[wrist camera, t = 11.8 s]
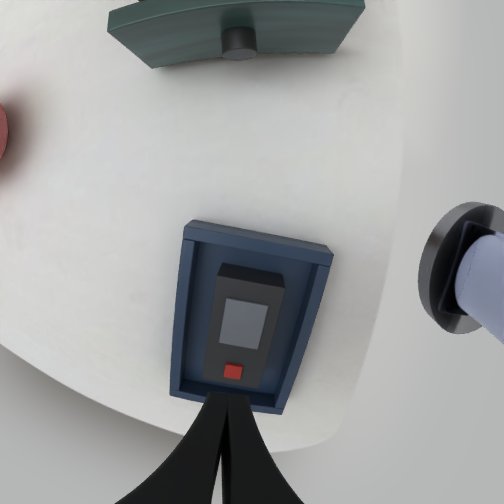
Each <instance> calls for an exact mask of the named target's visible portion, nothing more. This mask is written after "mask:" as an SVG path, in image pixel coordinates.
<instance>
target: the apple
mask: <svg viewBox="0 0 504 504" xmlns="http://www.w3.org/2000/svg"><path fill="white" fill-rule="evenodd" d="M7 138H8V125H7V118H6V114H5V111H4V109H3V107H2V105H1V104H0V159H1V157H2V156H3V153H4V151H5V147H6V144H7Z"/></svg>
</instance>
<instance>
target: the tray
mask: <svg viewBox="0 0 504 504" xmlns="http://www.w3.org/2000/svg"><path fill="white" fill-rule="evenodd" d="M333 256H334V254H333V253H332V252H331V251H330V250H329V248H328V247H327V246H326V245H322V244H317V243H312V242H307V241H302V240H297V239H292V238H287V237H282V236H277V235H271V234H266V233H261V232H256V231H251V230H245V229H240V228H235V227H230V226H224V225H219V224H213V223H208V222H203V221H197V220H192V221H190V222H189V223H188V224H187V225H185V226H184V232H183V240H182V248H181V256H180V264H179V273H178V282H177V292H176V302H175V313H174V325H173V338H172V353H171V370H170V393H169V394H170V396H174V397H178V398H182V399H187V400H191V401H196V402H201V403H204V401H205V399H206V396H207V393H208V392H210V391H215V392H223V393H231V394H240V395H247V396H248V397H249V401H250V406H251V410H252V411H253V412H261V413H269V414H278V415H282V413H283V410H284V408H285V405H286V402H287V400H288V397H289V394H290V392H291V389H292V386H293V384H294V381H295V378H296V375H297V372H298V370H299V367H300V364H301V361H302V358H303V355H304V352H305V349H306V346H307V343H308V340H309V337H310V334H311V331H312V328H313V325H314V321H315V318H316V315H317V312H318V308H319V305H320V302H321V298H322V295H323V292H324V288H325V285H326V281H327V278H328V274H329V270H330V266H331V264H332V260H333ZM222 263H226V264H231V265H237V266H242V267H247V268H252V269H258V270H263V271H268V272H274V273H279V274H283V279H284V284H285V288H286V289H285V293H284V297H283V301H282V305H281V309H280V313H279V317H278V321H277V324H276V328H275V332H274V336H273V339H272V343H271V347H270V351H269V354H268V358H267V361H266V365H265V369H264V372H263V376H262V379H261V383H260V386H259V388H252V387H245V386H239V385H233V384H227V383H222V382H217V381H211V380H206V379H202V371H203V364H204V357H205V349H206V342H207V336H208V329H209V322H210V315H211V309H212V302H213V296H214V289H215V283H216V277H217V274H218V271H219V269H220V266H221V264H222Z"/></svg>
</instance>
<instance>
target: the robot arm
mask: <svg viewBox="0 0 504 504" xmlns="http://www.w3.org/2000/svg"><path fill="white" fill-rule="evenodd" d="M472 227H473V230H472ZM447 306H448V308H447V309H446V307H447ZM438 310H439V311H440V312H441V313H447V314H455V315H463V316H471V317H472V318H474V319H475V320H476V321H477V322H478V323H480V324H481V325H482V326H483V327H484V328H486V329H487V330H488V331H489V332H490V333H491V334H493V335H494V336H495V337H496V338H497V339H498V340H499V341H500V342H502V343H503V344H504V234H501V233H499V232H497V231H494V230H492V229H489V228H487V227H484V226H482V225H479V224H477V223H474V222H472V221H466V222H465V223H464V226H463V230H462V234H461V238H460V241H459V245H458V248H457V252H456V255H455V259H454V262H453V265H452V268H451V271H450V274H449V277H448V280H447V283H446V286H445V289H444V291H443V294H442V297H441V300H440V302H439V305H438ZM220 456H221V462H222V463H221V464H222V501H223V502H222V503H223V504H304V503H303V502H302V501H301V500H300V498H299V497H298V496H297V495H296V493H295V492H294V491H293V489H292V488H291V487H290V486H289V484H288V483H287V481H286V480H285V478H284V477H283V475H282V474H281V472H280V471H279V469H278V468H277V466H276V464H275V463H274V461H273V459H272V457H271V455H270V453H269V451H268V449H267V447H266V446H265V443H264V441H263V439H262V437H261V434H260V432H259V430H258V427H257V425H256V422H255V419H254V416H253V413H252V410H251V406H250V401H249V397H248V396H247V395H240V394H231V393H223V392H215V391H210V392H208V393H207V396H206V399H205V401H204V404H203V406H202V408H201V410H200V412H199V414H198V416H197V417H196V419H195V421H194V422H193V424H192V425H191V427H190V429H189V430H188V432H187V433H186V435H185V436H184V437H183V439H182V440H181V442H180V443H179V444H178V445H177V447H176V448H175V449H174V451H173V452H172V453H171V454H170V455H169V456H168V458H167V459H166V460H165V461H164V462H163V463H162V464H161V465H160V466H159V467H158V468H157V469H156V470H155V472H153V473H152V474H151V475H150V476H149V477H148V478H147V479H146V480H145V481H144V482H142V483H141V484H140V485H139V486H138V487H137V488H136V489H134V490H133V491H132V492H130V493H129V494H127V495H126V496H125V497H123V498H122V499H121V500H119V501H118V502H116V503H115V504H211V501H212V495H213V490H214V485H215V480H216V476H217V471H218V466H219V461H220Z"/></svg>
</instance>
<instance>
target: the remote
mask: <svg viewBox="0 0 504 504" xmlns="http://www.w3.org/2000/svg"><path fill="white" fill-rule="evenodd" d="M285 289H286V288H285V284H284V279H283V274H279V273H274V272H268V271H263V270H258V269H252V268H247V267H242V266H237V265H231V264H226V263H222V264H221V266H220V269H219V271H218V274H217V277H216V283H215V289H214V296H213V302H212V309H211V315H210V322H209V329H208V336H207V342H206V349H205V357H204V364H203V371H202V379H206V380H211V381H217V382H222V383H227V384H233V385H239V386H245V387H252V388H259V386H260V383H261V379H262V376H263V372H264V369H265V365H266V361H267V358H268V354H269V351H270V347H271V343H272V339H273V336H274V332H275V328H276V324H277V321H278V317H279V313H280V309H281V305H282V301H283V297H284V293H285Z"/></svg>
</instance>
